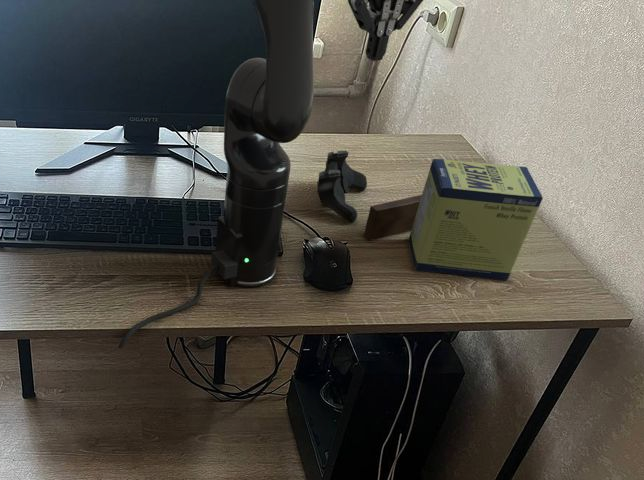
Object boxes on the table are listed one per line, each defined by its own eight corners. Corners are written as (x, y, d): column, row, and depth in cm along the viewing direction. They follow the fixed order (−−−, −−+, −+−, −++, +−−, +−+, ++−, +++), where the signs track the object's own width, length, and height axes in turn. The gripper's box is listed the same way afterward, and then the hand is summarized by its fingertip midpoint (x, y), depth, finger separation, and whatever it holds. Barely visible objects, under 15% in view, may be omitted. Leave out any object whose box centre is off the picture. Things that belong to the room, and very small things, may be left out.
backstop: (369, 240, 123) (376, 210, 119) (363, 235, 124) (370, 206, 120) (456, 219, 130) (466, 190, 126) (450, 215, 131) (459, 186, 127)
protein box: (509, 281, 115) (545, 197, 105) (414, 271, 116) (440, 187, 106) (496, 247, 123) (528, 166, 113) (407, 238, 124) (430, 157, 114)
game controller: (336, 193, 141) (321, 148, 137) (370, 184, 138) (355, 138, 133) (322, 232, 130) (304, 184, 125) (357, 224, 126) (341, 174, 121)
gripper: (420, -75, 103) (392, 47, 114) (346, -71, 98) (325, 56, 109) (455, -65, 97) (422, 62, 109) (379, -60, 93) (353, 72, 104)
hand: (373, 59), depth 109 cm, fingers closed
